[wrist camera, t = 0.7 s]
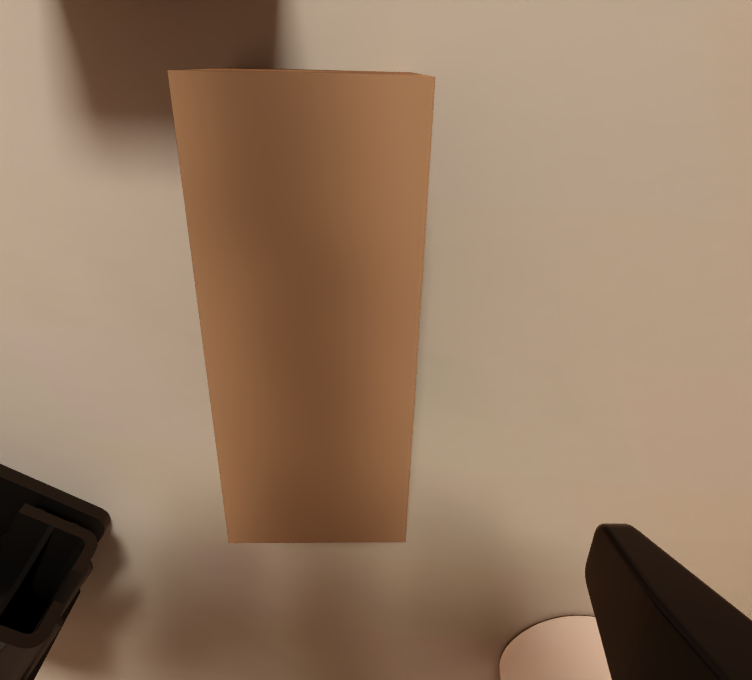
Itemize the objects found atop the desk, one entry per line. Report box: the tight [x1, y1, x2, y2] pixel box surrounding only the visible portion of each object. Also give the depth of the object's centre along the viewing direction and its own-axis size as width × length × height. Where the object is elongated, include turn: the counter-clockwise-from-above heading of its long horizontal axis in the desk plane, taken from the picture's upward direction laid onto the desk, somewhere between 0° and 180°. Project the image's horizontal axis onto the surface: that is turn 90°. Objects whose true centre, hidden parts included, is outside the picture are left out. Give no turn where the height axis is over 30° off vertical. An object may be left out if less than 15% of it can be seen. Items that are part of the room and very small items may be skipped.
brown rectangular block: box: [167, 68, 435, 543], centre depth 16 cm, size 5×12×6 cm, turn 179°
